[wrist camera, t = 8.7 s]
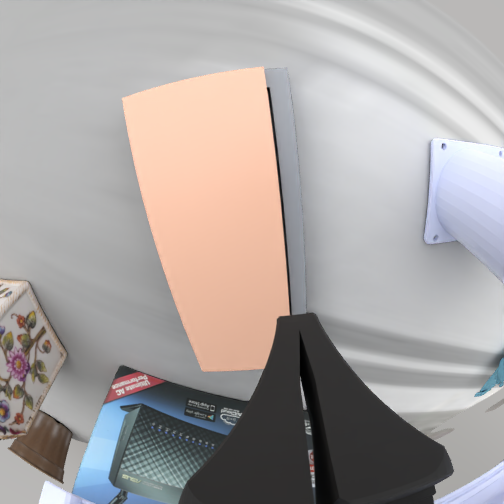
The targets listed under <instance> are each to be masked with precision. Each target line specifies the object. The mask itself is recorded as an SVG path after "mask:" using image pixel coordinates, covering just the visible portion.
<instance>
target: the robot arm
mask: <svg viewBox="0 0 504 504" xmlns="http://www.w3.org/2000/svg"><path fill="white" fill-rule="evenodd" d="M442 143H443V149H442V148H441V145H442ZM435 235H436V237H435V238H434V236H435ZM433 238H434V239H433ZM424 241H425V242H426V243H427V244H436V243H444V242H452V241H459V242H460V243H461V244H462V245H463V246H464V247H466V248H467V249H468V250H469V251H470V252H471V253H472V254H473V255H474V256H476V257H477V258H478V259H479V260H480V261H481V262H482V263H483V264H484V265H485V266H486V267H487V268H488V269H489V270H490V271H491V272H492V273H493V274H494V275H495V276H496V277H497V278H498V279H499V280H500V281H501V282H502V283H503V284H504V148H500V147H495V146H489V145H483V144H477V143H471V142H463V141H456V140H447V139H437V138H436V139H433V140H432V142H431V164H430V185H429V198H428V209H427V218H426V226H425V233H424ZM300 377H301V382H302V387H303V391H304V396H305V401H306V406H307V411H308V416H309V421H310V427H311V434H312V446H313V459H314V476H315V502H316V504H504V460H503V461H501V462H500V464H498V465H497V466H495V467H494V468H492V469H491V470H489V471H488V472H486V473H485V474H483V475H482V476H480V477H478V478H477V479H475V480H473V481H472V482H470V483H468V484H466V485H465V486H463V487H461V488H459V489H457V490H456V491H453V492H452V493H449V494H447V495H446V496H443V497H441V498H439V499H437V500H435V501H434V500H433V496H432V495H434V494H435V493H436V490H435V486H434V485H435V484H437V483H439V482H441V481H443V480H444V479H446V478H448V477H449V476H451V475H452V474H453V472H454V470H453V466H452V463H451V460H450V458H449V455H448V453H447V451H446V449H445V447H444V446H442V445H441V444H439V443H437V442H436V441H434V440H432V439H431V438H429V437H427V436H426V435H424V434H423V433H421V432H420V431H418V430H417V429H416V428H414V427H413V426H411V425H410V424H409V423H407V422H406V421H405V420H403V419H402V418H401V417H400V416H399V415H397V414H396V413H395V412H394V411H393V410H391V409H390V408H389V407H388V406H387V405H385V404H384V403H383V402H382V401H381V400H380V399H379V398H378V397H377V396H376V395H375V394H374V393H373V392H372V391H371V390H370V389H369V388H368V387H367V386H366V385H365V384H364V383H363V382H362V380H361V379H360V378H359V377H358V376H357V375H356V374H355V372H354V371H353V370H352V369H351V367H350V366H349V365H348V364H347V362H346V361H345V360H344V359H343V357H342V356H341V354H340V353H339V352H338V350H337V349H336V347H335V346H334V345H333V343H332V342H331V340H330V339H329V337H328V335H327V334H326V332H325V331H324V329H323V327H322V325H321V324H320V322H319V320H318V318H317V316H316V314H314V313H306V314H297V315H288V316H279V317H278V318H277V324H276V331H275V336H274V340H273V344H272V348H271V351H270V354H269V357H268V360H267V363H266V366H265V368H264V371H263V373H262V375H261V378H260V380H259V383H258V385H257V387H256V389H255V391H254V393H253V395H252V397H251V399H250V401H249V402H248V404H247V406H246V408H245V410H244V411H243V413H242V414H241V416H240V418H239V419H238V421H237V422H236V424H235V425H234V427H233V428H232V430H231V431H230V433H229V434H228V435H227V437H226V438H225V439H224V441H223V442H222V443H221V444H220V446H219V447H218V448H217V450H216V451H215V452H214V453H213V454H212V456H211V457H210V458H209V459H208V460H207V461H206V462H205V463H204V464H203V465H202V466H201V467H200V468H199V470H198V471H197V472H196V473H195V474H194V475H193V476H192V477H191V478H190V479H189V480H188V481H187V482H186V484H185V487H184V489H183V491H182V494H181V496H180V500H179V503H178V504H314V497H313V488H312V479H311V471H310V463H309V454H308V446H307V437H306V429H305V421H304V412H303V404H302V396H301V388H300ZM39 504H95V503H93V502H90V501H88V500H86V499H83V498H81V497H79V496H77V495H75V494H72V493H70V492H68V491H66V490H64V489H62V488H60V487H58V486H56V485H54V484H53V483H51V482H49V481H45V484H44V487H43V490H42V494H41V497H40V501H39Z"/></svg>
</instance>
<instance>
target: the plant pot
mask: <svg viewBox="0 0 504 504" xmlns="http://www.w3.org/2000/svg"><path fill="white" fill-rule="evenodd" d="M71 438H72V433H71V432H70V430H68V429H67V428H66V427H65V426H63V425H62V424H61V423H57V422H56V421H55V420H54V419H53V418H52V417H50V416H49V415H47V414H46V413H44V412H42V411H40V410H38V412H37V414H36V416H35V418H34V420H33V422H32V425H31V427H30V429H29V431H28V433H27V434H26V435H22V436H20V437H17V439H15V440H14V442H13V443H12V445H11V447H10V448H8V449H9V450H10V451H12V452H13V453H14V454H16V455H17V456H19V457H20V458H21V459H23V460H24V461H26V462H27V463H29V464H30V465H32V466H33V467H35V468H36V469H38V470H39V471H41V472H43V473H45V474H46V475H48V476H50V477H51V478H53V479H55V480H57V481H59V482H61V483H62V484H63V483H64V482H63V475H64V470H63V469H64V465H65V460H66V456H67V452H68V448H69V445H70V441H71Z"/></svg>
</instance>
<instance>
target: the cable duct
mask: <svg viewBox="0 0 504 504" xmlns="http://www.w3.org/2000/svg"><path fill="white" fill-rule="evenodd" d="M264 73H265V80H266V86H267V93H268V101H269V108H270V116H271V123H272V131H273V139H274V147H275V156H276V165H277V174H278V183H279V192H280V202H281V212H282V223H283V234H284V245H285V257H286V269H287V283H288V297H289V312H290V315H297V314H306V273H305V248H304V228H303V212H302V197H301V184H300V172H299V161H298V151H297V141H296V131H295V123H294V114H293V106H292V98H291V91H290V83H289V76H288V70H287V68H273V69H264Z"/></svg>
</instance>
